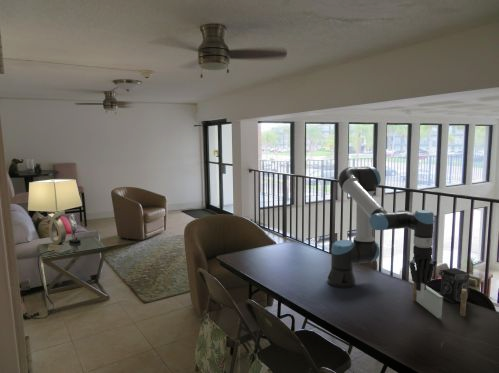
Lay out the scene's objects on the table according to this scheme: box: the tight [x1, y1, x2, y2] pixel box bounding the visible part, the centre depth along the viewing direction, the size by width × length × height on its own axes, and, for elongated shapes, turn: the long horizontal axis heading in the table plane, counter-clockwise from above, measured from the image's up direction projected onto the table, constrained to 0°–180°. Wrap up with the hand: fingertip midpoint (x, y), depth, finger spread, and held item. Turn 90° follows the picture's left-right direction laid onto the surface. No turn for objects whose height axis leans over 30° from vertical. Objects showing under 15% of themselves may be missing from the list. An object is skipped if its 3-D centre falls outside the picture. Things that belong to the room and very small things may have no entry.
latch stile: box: [459, 289, 468, 317], centre depth 158 cm, size 2×2×12 cm
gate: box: [416, 285, 444, 319], centre depth 162 cm, size 17×2×10 cm, turn 5°
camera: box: [440, 267, 471, 304], centre depth 172 cm, size 10×11×15 cm
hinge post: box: [412, 281, 418, 303], centre depth 172 cm, size 3×3×13 cm
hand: (420, 297), depth 156 cm, fingers closed
